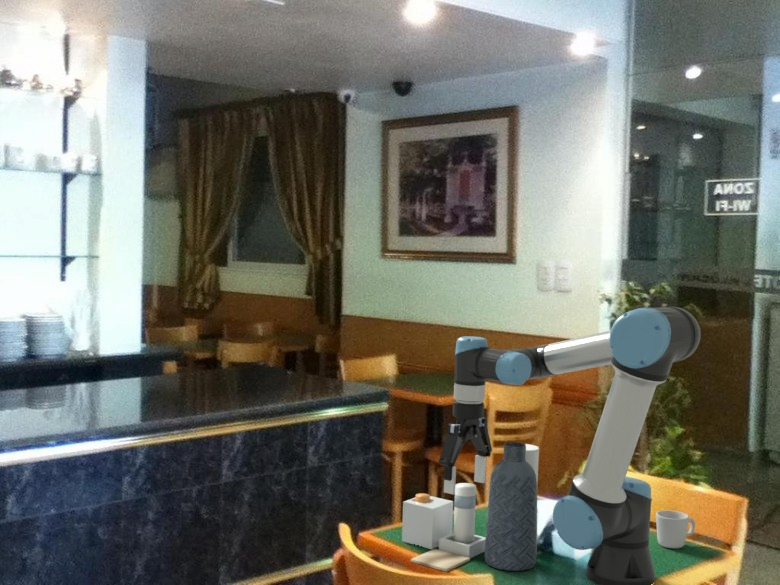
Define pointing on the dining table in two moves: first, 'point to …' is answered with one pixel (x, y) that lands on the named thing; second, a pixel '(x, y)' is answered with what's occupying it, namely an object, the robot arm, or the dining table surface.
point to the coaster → (440, 560)
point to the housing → (435, 527)
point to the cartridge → (464, 513)
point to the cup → (673, 528)
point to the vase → (512, 512)
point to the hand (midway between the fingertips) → (464, 487)
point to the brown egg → (422, 498)
